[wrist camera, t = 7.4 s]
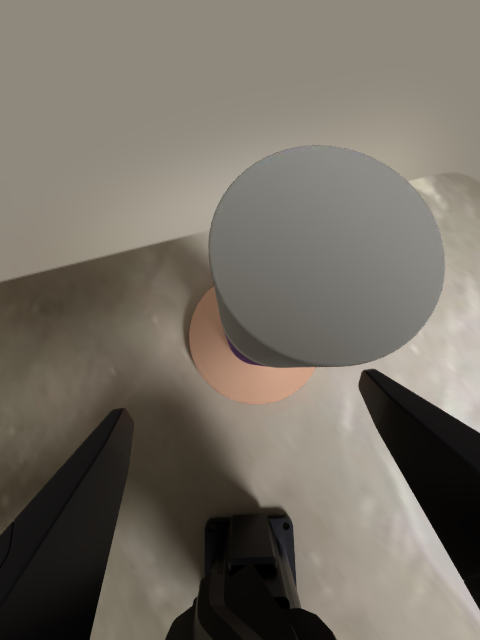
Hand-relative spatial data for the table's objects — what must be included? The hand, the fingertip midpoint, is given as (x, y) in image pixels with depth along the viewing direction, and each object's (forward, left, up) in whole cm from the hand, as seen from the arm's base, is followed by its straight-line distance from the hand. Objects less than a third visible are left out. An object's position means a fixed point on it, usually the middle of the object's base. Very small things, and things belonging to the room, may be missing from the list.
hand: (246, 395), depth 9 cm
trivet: (+3, -1, -11) cm, 12 cm away
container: (+3, -1, -10) cm, 11 cm away
